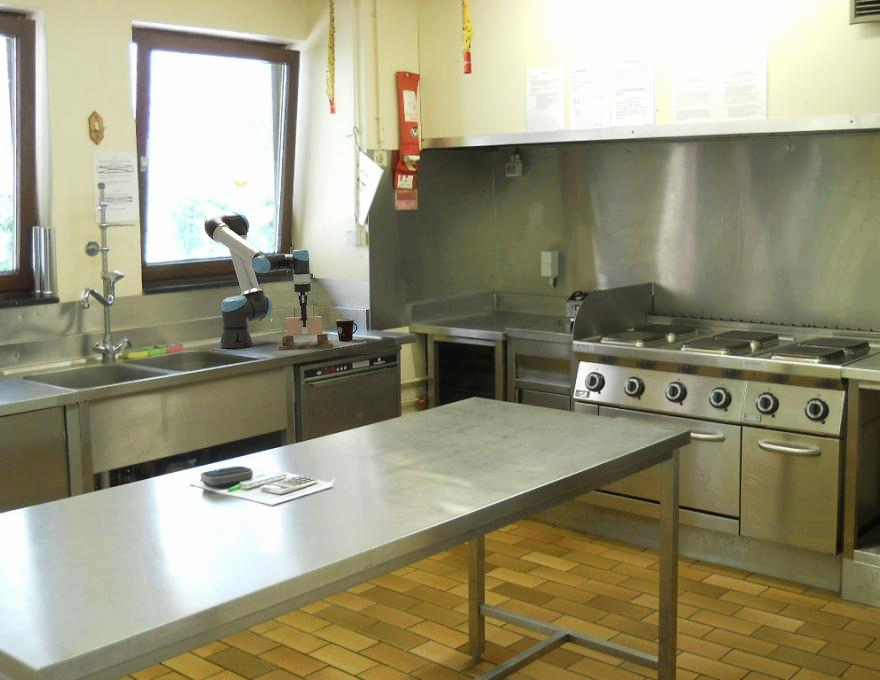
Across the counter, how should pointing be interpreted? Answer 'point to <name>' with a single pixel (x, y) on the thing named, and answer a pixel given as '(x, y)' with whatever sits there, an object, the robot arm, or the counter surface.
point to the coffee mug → (345, 329)
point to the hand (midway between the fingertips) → (305, 333)
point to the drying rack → (305, 343)
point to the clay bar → (296, 327)
